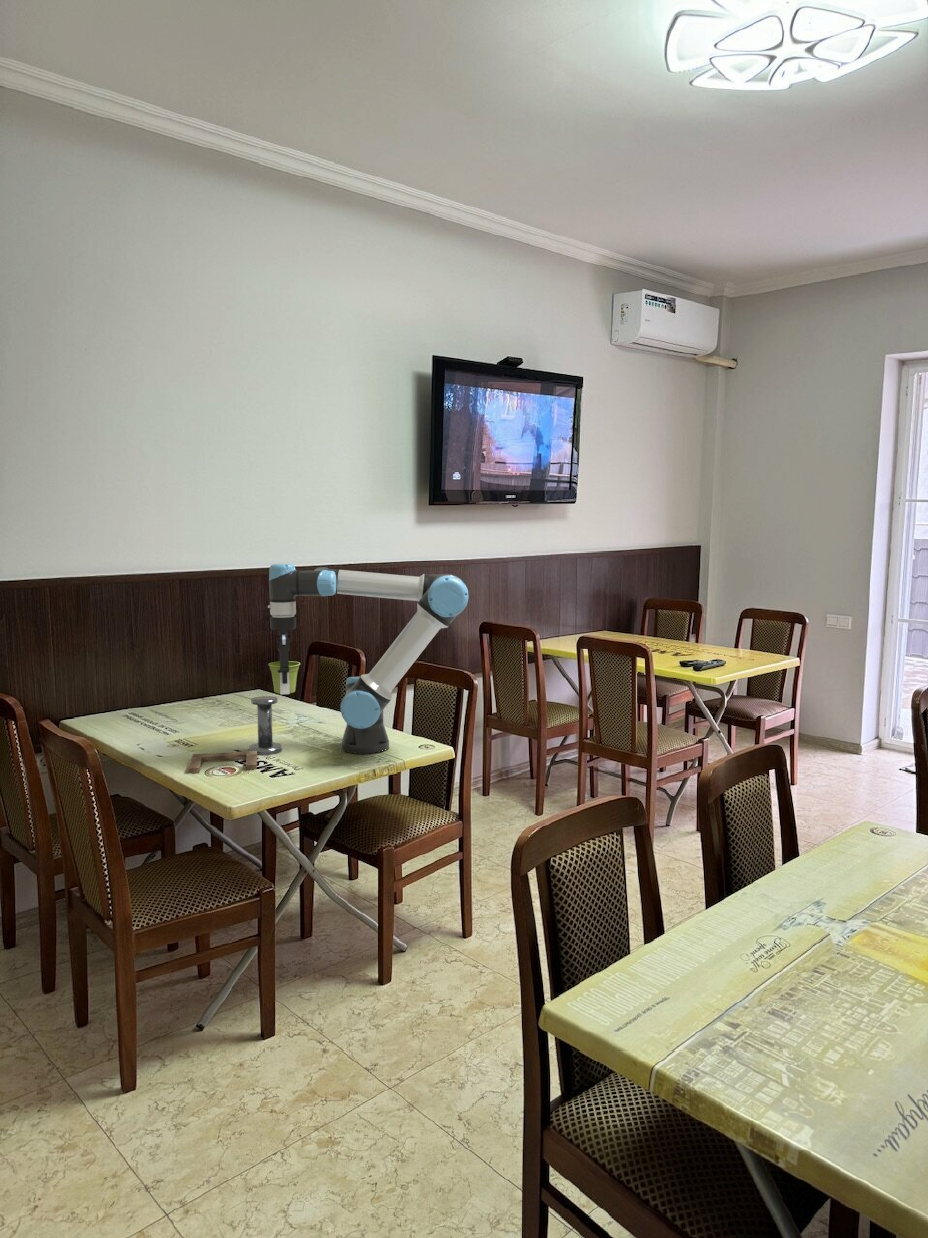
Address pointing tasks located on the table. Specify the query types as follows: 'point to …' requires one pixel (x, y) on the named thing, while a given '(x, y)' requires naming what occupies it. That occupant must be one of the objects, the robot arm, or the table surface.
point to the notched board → (223, 759)
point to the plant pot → (292, 675)
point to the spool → (265, 726)
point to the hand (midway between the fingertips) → (284, 691)
